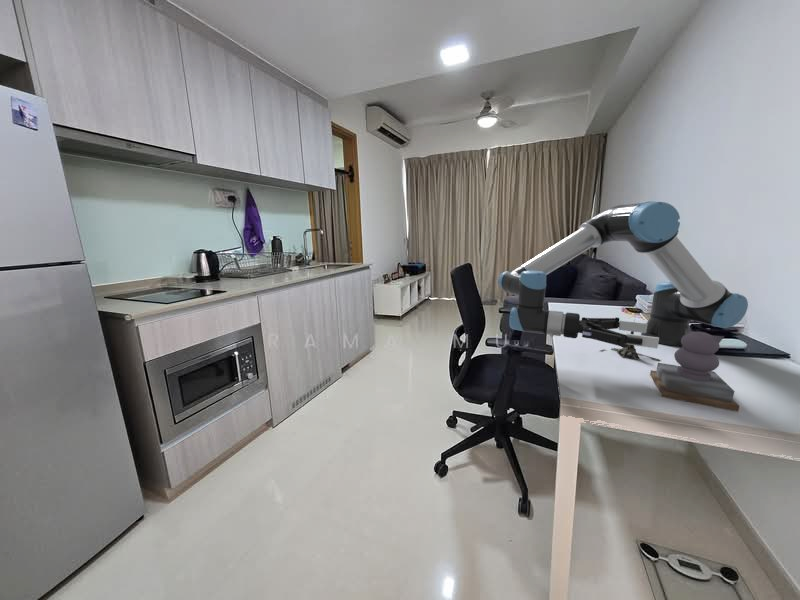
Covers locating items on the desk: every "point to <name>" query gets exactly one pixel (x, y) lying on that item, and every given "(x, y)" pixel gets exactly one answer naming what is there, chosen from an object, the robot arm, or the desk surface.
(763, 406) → the desk surface
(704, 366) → the cat figurine
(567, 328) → the robot arm
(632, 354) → the eiffel tower figurine
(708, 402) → the display plinth
